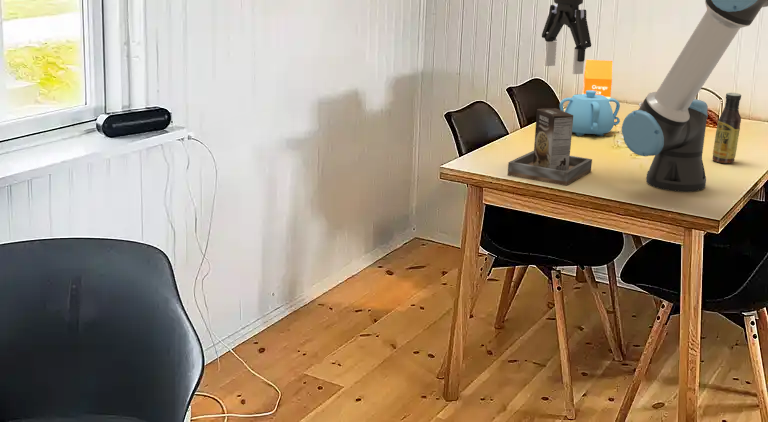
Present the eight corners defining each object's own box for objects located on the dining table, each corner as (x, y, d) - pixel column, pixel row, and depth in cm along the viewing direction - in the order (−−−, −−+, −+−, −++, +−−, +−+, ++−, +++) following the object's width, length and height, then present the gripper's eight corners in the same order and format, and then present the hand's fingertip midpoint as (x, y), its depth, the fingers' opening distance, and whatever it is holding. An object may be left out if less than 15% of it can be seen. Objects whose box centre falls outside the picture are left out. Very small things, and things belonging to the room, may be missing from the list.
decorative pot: (584, 124, 330) (587, 84, 326) (623, 134, 318) (627, 91, 314) (551, 131, 320) (554, 89, 316) (591, 141, 309) (594, 97, 304)
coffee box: (531, 166, 274) (535, 108, 269) (552, 164, 276) (556, 107, 271) (548, 175, 266) (552, 115, 261) (569, 173, 268) (574, 114, 263)
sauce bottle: (707, 159, 289) (715, 92, 283) (724, 158, 291) (733, 90, 285) (722, 165, 283) (731, 96, 277) (740, 163, 286) (749, 95, 280)
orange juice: (580, 116, 343) (585, 57, 337) (606, 117, 342) (612, 59, 336) (581, 120, 336) (586, 61, 330) (608, 122, 335) (613, 62, 328)
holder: (591, 171, 274) (592, 159, 273) (566, 185, 260) (567, 172, 259) (534, 161, 283) (535, 149, 282) (507, 174, 269) (508, 162, 268)
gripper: (609, -8, 251) (602, 76, 257) (555, -16, 273) (550, 61, 279) (584, -7, 248) (577, 78, 254) (532, -16, 270) (527, 63, 276)
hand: (563, 69), depth 267 cm, fingers open, 13 cm apart
